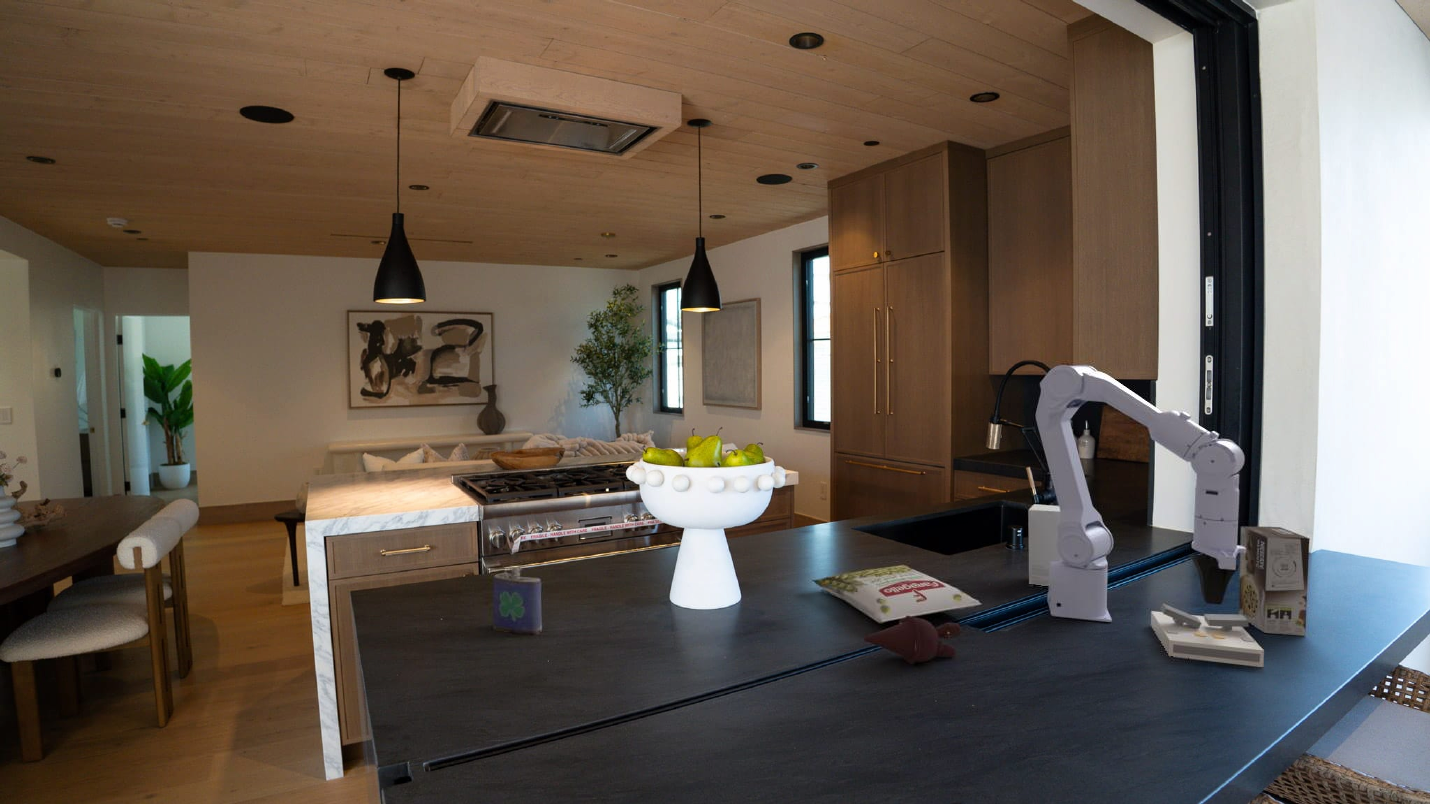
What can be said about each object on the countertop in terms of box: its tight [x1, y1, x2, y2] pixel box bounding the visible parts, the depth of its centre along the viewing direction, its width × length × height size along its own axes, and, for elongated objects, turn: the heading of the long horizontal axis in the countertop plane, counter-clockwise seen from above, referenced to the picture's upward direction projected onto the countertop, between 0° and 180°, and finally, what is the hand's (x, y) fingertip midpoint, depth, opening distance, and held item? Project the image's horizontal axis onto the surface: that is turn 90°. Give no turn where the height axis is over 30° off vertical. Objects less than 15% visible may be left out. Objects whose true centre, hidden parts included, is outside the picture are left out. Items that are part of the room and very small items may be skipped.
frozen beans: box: [811, 564, 982, 625], centre depth 138 cm, size 21×6×25 cm
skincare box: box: [1027, 503, 1062, 587], centre depth 150 cm, size 8×7×16 cm
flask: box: [492, 566, 543, 636], centre depth 126 cm, size 9×3×11 cm, turn 68°
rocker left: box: [1159, 603, 1201, 629], centre depth 120 cm, size 5×3×2 cm, turn 70°
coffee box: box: [1238, 525, 1311, 637], centre depth 127 cm, size 9×6×16 cm
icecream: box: [863, 616, 963, 666], centre depth 112 cm, size 7×7×15 cm
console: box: [1150, 610, 1265, 668], centre depth 118 cm, size 12×14×3 cm
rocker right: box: [1203, 613, 1250, 630], centre depth 118 cm, size 5×3×2 cm, turn 70°
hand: (1212, 602), depth 118 cm, fingers closed
